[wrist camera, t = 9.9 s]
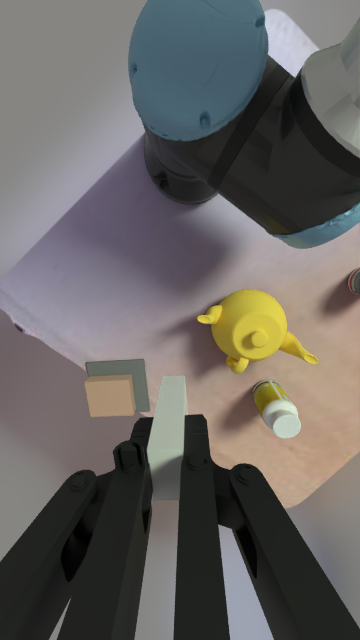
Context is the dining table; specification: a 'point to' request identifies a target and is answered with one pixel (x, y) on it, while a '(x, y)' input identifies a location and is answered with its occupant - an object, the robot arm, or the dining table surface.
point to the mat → (125, 368)
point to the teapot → (251, 329)
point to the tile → (110, 395)
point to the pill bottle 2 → (355, 282)
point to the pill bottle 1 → (276, 409)
